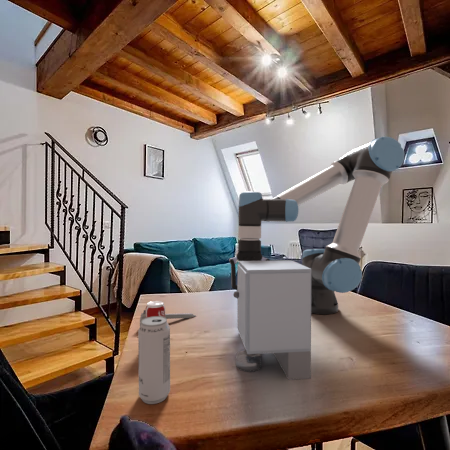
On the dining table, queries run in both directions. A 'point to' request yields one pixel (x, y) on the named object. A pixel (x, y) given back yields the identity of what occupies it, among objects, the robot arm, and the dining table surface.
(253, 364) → the disc
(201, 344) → the dining table surface
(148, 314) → the soda can
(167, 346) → the energy drink can
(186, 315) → the caliper
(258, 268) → the cabinet
